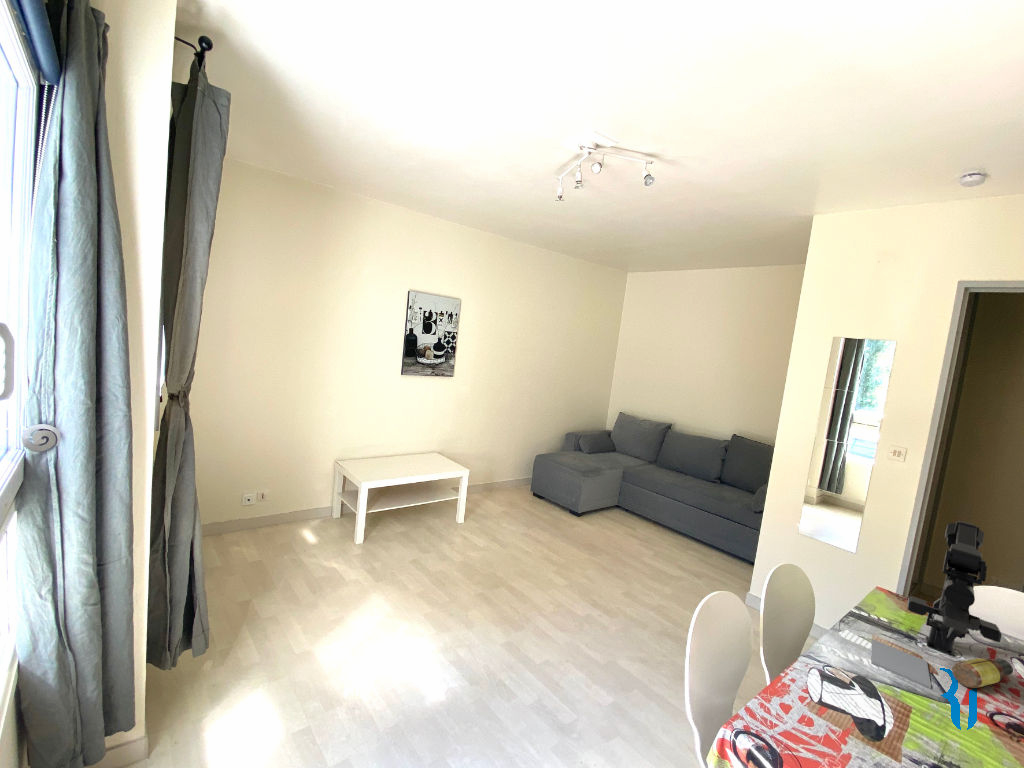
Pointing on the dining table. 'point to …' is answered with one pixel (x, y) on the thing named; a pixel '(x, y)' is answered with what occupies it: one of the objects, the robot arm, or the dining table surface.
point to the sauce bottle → (981, 671)
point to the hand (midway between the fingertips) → (945, 645)
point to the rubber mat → (900, 663)
